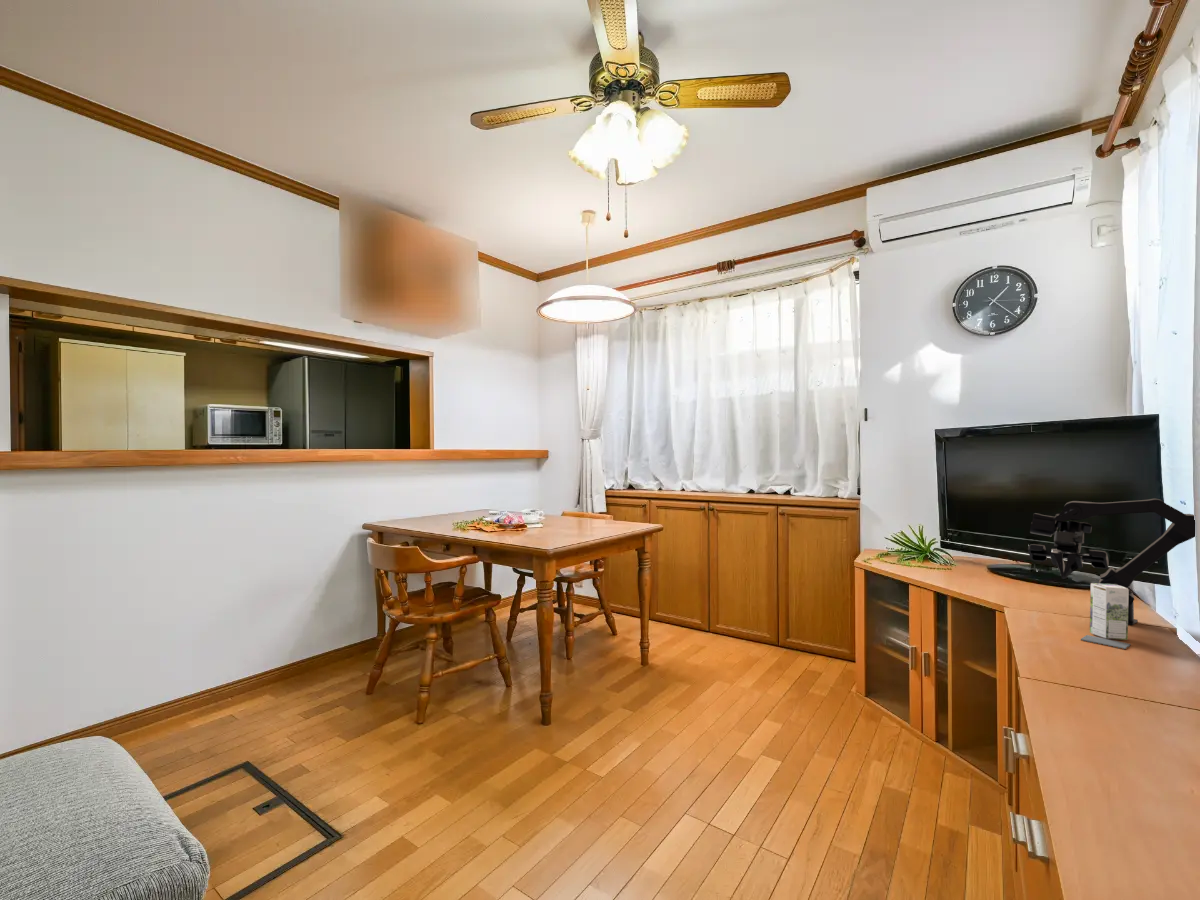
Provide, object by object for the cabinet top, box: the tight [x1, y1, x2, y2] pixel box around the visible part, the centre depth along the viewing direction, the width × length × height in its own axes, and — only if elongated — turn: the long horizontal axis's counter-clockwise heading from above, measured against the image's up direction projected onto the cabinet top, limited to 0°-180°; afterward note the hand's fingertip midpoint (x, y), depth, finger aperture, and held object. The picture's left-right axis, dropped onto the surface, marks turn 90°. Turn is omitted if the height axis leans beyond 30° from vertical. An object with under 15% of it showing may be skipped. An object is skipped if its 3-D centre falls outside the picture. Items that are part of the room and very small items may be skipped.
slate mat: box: [1080, 634, 1132, 650], centre depth 148 cm, size 6×9×1 cm, turn 35°
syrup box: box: [1089, 582, 1130, 641], centre depth 152 cm, size 6×6×14 cm
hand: (1063, 577), depth 166 cm, fingers closed
